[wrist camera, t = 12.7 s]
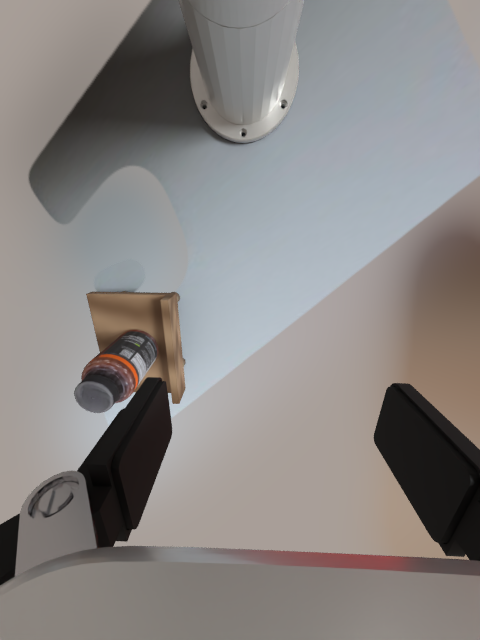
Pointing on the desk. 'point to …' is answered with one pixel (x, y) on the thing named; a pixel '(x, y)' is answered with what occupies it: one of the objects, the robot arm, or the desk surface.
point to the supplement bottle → (116, 371)
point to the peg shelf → (143, 329)
